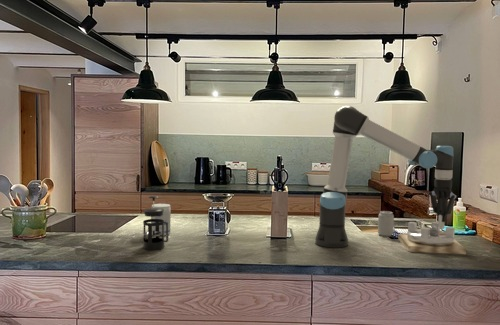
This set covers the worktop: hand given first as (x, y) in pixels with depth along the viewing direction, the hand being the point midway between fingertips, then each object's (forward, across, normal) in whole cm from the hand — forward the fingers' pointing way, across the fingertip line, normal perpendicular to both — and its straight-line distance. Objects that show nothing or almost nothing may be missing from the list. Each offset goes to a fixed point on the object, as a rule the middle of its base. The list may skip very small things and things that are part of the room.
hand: (441, 228), depth 202 cm
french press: (+8, +65, +116) cm, 133 cm away
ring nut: (+5, 0, +8) cm, 9 cm away
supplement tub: (+8, +87, +104) cm, 136 cm away
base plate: (+7, 0, +8) cm, 11 cm away
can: (+8, +25, +8) cm, 27 cm away
